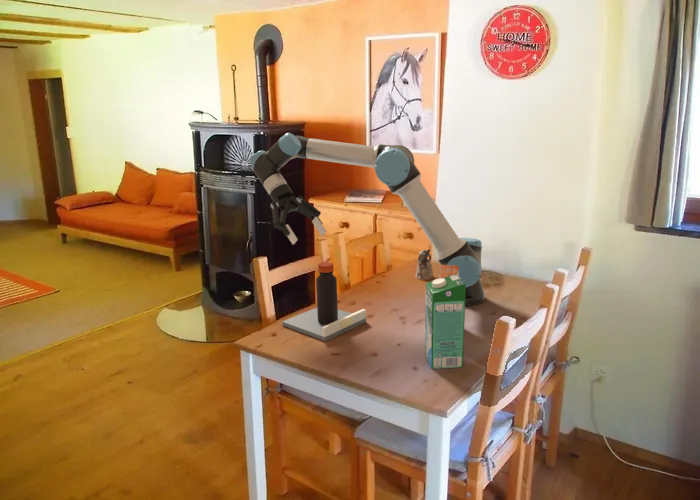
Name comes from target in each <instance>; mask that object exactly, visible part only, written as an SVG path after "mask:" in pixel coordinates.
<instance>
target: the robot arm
mask: <svg viewBox="0 0 700 500" xmlns="http://www.w3.org/2000/svg"><path fill="white" fill-rule="evenodd" d="M296 158H298V159H306V160H307V159H309V160H315V161H323V162H328V163H329V162H330V163H338V164H343V165H344V164H345V165H351V166H352V165H353V166H360V167H367V168H372V169H373V170H374V172H375V175H376V177H377V179H378V180H379V181H380V182H381V183H382V184H384V185H386V186H387V188H388V189H389V191H390V192H391V194H393V195H397V196H399V198H400V199H401V201H402V202H403V204H404V206H405V207H406V208H407V209H408V210H409V213H410V214H411V215H412V216H413V217H414V219H415V221H416V222H417V224H418V225H419V227H420V228H421V230H422V231H423V233H424V234H425V236H426V237H427V238H428V240H429V241H430V243H431V245H432V246H433V248H434V249H435V250H436V252H437V256H436V259H437V261H438V262H439V263H440V266H441V265H457V266H459V277H460V278H461V279H462V281H463V282H464V283H465V284H466V291H465V306H475V305H479V304H482V303H483V302H484V301H485V290H484V288H483V284H482V280H481V276H482V275H481V274H482V249H483V246H482V241H481V239H477V238H472V237H459V236H458V235H457V233H456V232H455V230H454V229H453V227H452V225H450V223H449V222H448V220H447V218H446V217H445V215H444V214H443V213H442V211H441V209H440V208H439V207H438V205H437V203H436V202H435V201H434V199H433V198H432V196H431V195H430V193H429V192H428V190H427V189H426V188H425V186H424V184H423V183H422V181H421V177H422V174H421V172H420V171H419V168H418V167H417V166H416V164H415V157H414V155H413V153H412V151H411V150H410V149H409V148H407V146H404V145H401V144H400V145H399V144H392V145H391V144H380V143H379V144H377V145H375V146H373V145H367V144H366V145H365V144H359V143H358V144H357V143H349V142H341V141H333V140H326V139H325V140H324V139H320V138H319V139H318V138H309V137H308V138H307V137H305V136H302V135H294V133H290V132H287V133H285V134H283V135H282V136H280V138H279V139H278V140H277V141H276V142H275V143H274V144H273V145H272V146H271V147H270V148H269V149H268V150H267V151H265V150H259V151H257V152H256V153H253V154H252V155H251V156H250V158H249V159H248V160H249V161H248V162H249V163H248V164H249V165H250V167H251V169H252V171H253V173H254V174H255V175H256V177H257V178H258V180H259V181H260V183H261V185H262V186H263V188H264V190H265V191H266V192H267V194H268V195H269V197H270V198H271V200H272V202H271V203H270V205H269V208H270V211H271V215H272V221H273V228H274V229H276V230H278V231H282V233H283V234H284V236H285V237H287V238H288V240H289V241H290V242H291V245H295V244H296V242H298V240H299V239H298V237H297V236H296V234H295V232H294V231H293V230H292V228H291V226H290V225H289V224H288V223H287V224H286V222H287V221H286V220H287V216H288V214H290V213H292V212H296V213H300V214H301V215H303V216H305V217H307V218H309V219H310V220H311V223H312V224H313V226H314V228H315V229H316V230H317V232H318V233H319V235H320V237H323V236H324V235H325V234H326V232H327V230H326V228H325V227H324V225H323V222H322V221H321V219H320V218H319V217H320V215H321V214H322V212H321V211H320V210H318V209H317V208H316V207H314V206H313V205H312V204H311V203H309V202H308V201H307V200H306V199H305V198H304V197H303V196H302V195H299V196H298V197H295V195H294V192H293V190H292V189H291V187H290V185H289V184H288V182H287V181H286V179H285V178H284V177H283V175H282V173H281V172H280V170H281V168H283V167H284V166H285V165H286V164H287V163H289V161H291V160H293V159H296ZM279 209H280V213H279Z"/></svg>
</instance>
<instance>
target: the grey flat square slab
mask: <svg viewBox="0 0 700 500" xmlns="http://www.w3.org/2000/svg"><path fill="white" fill-rule="evenodd" d="M281 322H282V326H283V327H285V328H287V327H288V329H290V330H293V331H296V332H299V333H300V334H304V335H306V336H309V337H311V338H315V339H316V340H319V341H322V342H327V341H329V340H331V339H333V338H336V337H337V336H339V335H342V334H344V333H346V332H348V331H351V330H352V329H355V328H357V327H358V326H361V325H363V324H364V323H367V309H365V308H362V309H360V310H358V311H355V312H353V313H351V312H348V311H345V310H342V309H338V320H337V321H335V322H333V323H330V324H328V325H324V324H320V323H319V322H318V313H317V307H315V308H312V309H310V310H307V311H305V312H302V313H300V314H298V315H295V316H293V317H291V318H288V319H285V320H282V321H281Z"/></svg>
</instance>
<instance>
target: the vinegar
mask: <svg viewBox="0 0 700 500" xmlns="http://www.w3.org/2000/svg"><path fill="white" fill-rule="evenodd" d="M317 265H318V274H319V275H318V276H317V277H316V279H315V282H316V284H315V285H316V289H315V290H316V308H317V313H318V322H319V323H320V324H324V325H328V324H330V323H333V322H335V321H337V320H338V308H339V307H338V285H337V284H338V281H337V280H338V279H337V277H336V276H335V275H334V269H335V268H334V263H333V262H330V261H329V262H326V261H324V262H320V263H318V264H317Z"/></svg>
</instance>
